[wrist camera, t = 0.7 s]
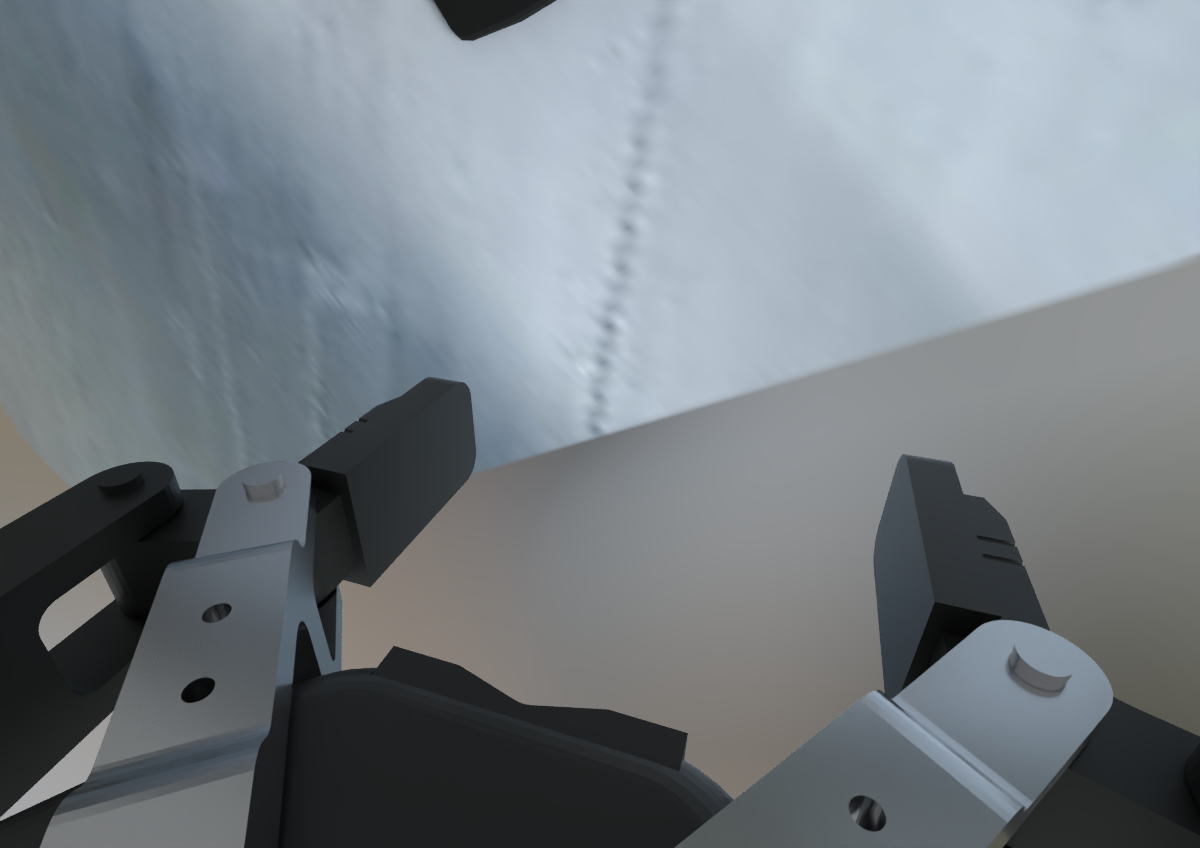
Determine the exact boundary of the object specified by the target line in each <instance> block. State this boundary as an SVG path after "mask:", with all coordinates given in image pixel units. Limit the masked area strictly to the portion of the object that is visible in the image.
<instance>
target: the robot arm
mask: <svg viewBox="0 0 1200 848" xmlns="http://www.w3.org/2000/svg"><path fill="white" fill-rule="evenodd" d="M475 458H476V446H475V435H474V425H473V414H472V403H471V394H470V390H469V388H468V386H467V385H466V384H465V383H463V382H457V381H451V380H445V379H439V378H433V377H428V378H426V379H424V380H423V381H421V382H420V383H418V384H417V385H416V386H414V387H413V388H412V389H410V390H409V391H408V392H406V393H405V394H404V395H402V396H401V397H398V398H396V399H393V400H390V401H388V402H385V403H383V404H380V405H378V406H376V407H375V408H373V409H372V410H370V411H369V412H368V413H366V414H365V415H363V416H362V417H361V418H359V422H358V421H355V422H354V423H352V424H351V425H350V426H348V427H347V428H345V431H344V432H340V433H338V434H337V435H336V436H334V437H333V438H331V439H330V440H329V441H327V442H326V443H325V444H323V445H322V446H320V447H319V448H318V449H316V450H315V451H313V452H312V453H311V454H309V455H308V456H306V457H305V458H304V459H302V460H301V461H300V462H298V463H296V462H291V461H274V462H266V463H261V464H257V465H254V466H251V467H248V468H245V469H243V470H240V471H238V472H236V473H235V474H233V475H231V476H230V477H228V478H227V479H225V480H224V481H223V482H222V483H221V484H220V485H219V487H218V488H217V489H207V490H180V488H179V485H178V482H177V480H176V477H175V474H174V472H173V470H172V468H171V467H170V466H168V465H166V464H164V463H160V462H136V463H129V464H125V465H120V466H117V467H113V468H110V469H108V470H105V471H102V472H100V473H98V474H95V475H93V476H91V477H89V478H88V479H86V480H84V481H82V482H81V483H79V484H77V485H75V486H74V487H72V488H70V489H68V490H67V491H65V492H63V493H62V494H60V495H58V496H56V497H55V498H53V499H51V500H49V501H48V502H46V503H44V504H43V505H41V506H39V507H37V508H35V509H34V510H32V511H30V512H28V513H27V514H25V515H23V516H22V517H20V518H18V519H16V520H15V521H13V522H11V523H9V524H8V525H6V526H4V527H2V528H1V529H0V817H1V816H2V815H3V814H4V813H5V812H6V811H7V810H8V809H10V808H11V807H12V806H13V805H14V804H15V803H16V802H17V801H18V800H19V799H20V798H21V797H22V796H23V795H24V794H25V793H26V792H28V790H30V789H31V788H32V787H33V786H34V785H35V784H36V783H37V782H38V781H39V780H40V779H41V778H42V777H43V776H45V774H46V773H48V772H49V771H50V770H51V769H52V768H53V767H54V766H55V765H56V764H57V763H58V762H59V761H60V760H61V759H63V758H64V757H65V756H66V755H67V754H68V753H69V752H70V751H71V750H72V749H73V748H74V747H75V746H76V745H77V744H78V743H79V742H81V741H82V740H83V739H84V737H86V736H87V735H88V734H89V733H90V732H91V731H92V730H93V729H94V728H95V727H96V726H98V725H99V723H101V722H102V721H103V720H104V719H105V718H106V717H107V716H108V715H109V714H110V713H111V712H112V711H113V710H114V711H113V714H112V716H111V719H110V722H109V725H108V727H107V730H106V733H105V736H104V738H103V741H102V744H101V747H100V749H99V752H98V755H97V757H96V760H95V763H94V766H93V768H92V771H91V773H90V775H89V777H88V779H87V780H86V781H85V782H84V783H81V784H80V785H77V786H75V787H73V788H71V789H69V790H66V791H64V792H62V793H60V794H58V795H56V796H54V797H51V798H49V799H47V800H45V801H43V802H40V803H38V804H36V805H34V806H32V807H30V808H28V809H26V810H23V811H21V812H19V813H17V814H15V815H13V816H10V817H8V818H6V819H4V820H2V821H0V848H1200V737H1199V736H1197V735H1195V734H1193V733H1191V732H1188V731H1186V730H1184V729H1182V728H1179V727H1177V726H1175V725H1173V724H1170V723H1168V722H1166V721H1164V720H1161V719H1159V718H1157V717H1154V716H1152V715H1150V714H1148V713H1145V712H1143V711H1141V710H1139V709H1137V708H1134V707H1132V706H1130V705H1128V704H1126V703H1124V702H1122V701H1120V700H1118V699H1116V698H1115V697H1113V693H1112V688H1111V686H1110V683H1109V681H1108V679H1107V677H1106V676H1105V674H1104V672H1103V671H1102V670H1101V669H1100V667H1099V666H1098V665H1097V664H1096V663H1095V662H1094V661H1093V660H1092V659H1091V658H1090V657H1089V656H1088V655H1087V654H1086V653H1084V652H1083V651H1082V650H1081V649H1079V648H1078V647H1077V646H1075V645H1074V644H1072V643H1071V642H1069V641H1068V640H1066V639H1064V638H1062V637H1060V636H1059V635H1057V634H1055V633H1053V632H1051V631H1050V629H1049V627H1048V624H1047V622H1046V619H1045V617H1044V614H1043V612H1042V609H1041V607H1040V604H1039V602H1038V599H1037V597H1036V594H1035V591H1034V589H1033V586H1032V584H1031V581H1030V579H1029V576H1028V574H1027V571H1026V569H1025V567H1024V566H1022V562H1023V561H1022V559H1021V556H1020V554H1019V551H1018V549H1017V547H1015V546H1014V545H1015V541H1014V538H1013V536H1012V533H1011V531H1010V528H1009V526H1008V523H1007V521H1006V519H1005V518H1004V517H1003V516H1002V515H1001V514H1000V513H999V512H997V510H996V509H995V508H994V507H992V505H990V504H989V503H988V502H987V501H986V500H985V499H984V498H981V497H975V496H970V495H964V494H963V492H962V489H961V486H960V482H959V479H958V476H957V473H956V470H955V467H954V464H953V463H952V462H948V461H942V460H935V459H930V458H923V457H918V456H911V455H905V454H903V455H902V456H901V457H900V459H899V461H898V464H897V467H896V470H895V473H894V476H893V480H892V483H891V487H890V490H889V493H888V497H887V500H886V503H885V507H884V510H883V514H882V517H881V520H880V524H879V527H878V531H877V536H876V541H875V549H874V574H875V585H876V597H877V609H878V620H879V631H880V643H881V655H882V665H883V677H884V689H885V693H883V692H882V691H880V690H875V691H873V692H870V693H868V694H867V695H865V696H864V697H862V698H861V699H860V700H858V701H857V702H856V703H855V704H853V705H852V706H851V707H850V708H848V709H847V710H846V711H845V712H843V713H842V714H841V715H840V716H839V717H837V718H836V719H835V720H833V721H832V722H831V723H830V724H828V725H827V726H826V727H825V728H823V729H822V730H821V731H820V732H818V733H817V734H816V735H815V736H813V737H812V738H811V739H810V740H808V741H807V742H806V743H805V744H803V745H802V746H801V747H800V748H798V749H797V750H796V751H795V752H793V753H792V754H791V755H790V756H788V757H787V758H786V759H785V760H783V761H782V762H781V763H780V764H778V765H777V766H776V767H775V768H773V769H772V770H771V771H770V772H768V773H767V774H766V775H765V776H764V777H762V778H761V779H760V780H758V781H757V782H756V783H755V784H753V785H752V786H751V787H750V788H748V789H747V790H746V791H745V792H743V793H742V794H741V795H740V796H738V797H737V798H736V799H735V800H734V799H732V798H731V797H730V796H729V795H728V794H727V793H726V792H725V791H724V790H723V789H722V788H721V787H720V786H719V785H718V784H717V783H716V782H714V781H713V780H712V779H710V778H709V777H708V776H706V775H705V774H704V773H703V772H701V771H700V770H699V769H697V768H695V767H694V766H692V765H691V764H689V763H687V762H686V761H684V757H685V750H686V742H687V735H688V733H685V732H682V731H678V730H675V729H671V728H668V727H665V726H661V725H658V724H655V723H651V722H648V721H645V720H641V719H638V718H635V717H631V716H628V715H624V714H621V713H617V712H614V711H611V710H605V709H587V708H570V707H553V706H534V705H526V704H522V703H519V702H517V701H515V700H514V699H512V698H511V697H509V696H507V695H506V694H504V693H503V692H501V691H499V690H498V689H496V688H494V687H493V686H491V685H490V684H488V683H487V682H485V681H483V680H482V679H480V678H479V677H477V676H475V675H474V674H472V673H471V672H469V671H467V670H465V669H464V668H463V667H461V666H459V665H456V664H453V663H450V662H446V661H443V660H439V659H436V658H433V657H429V656H426V655H423V654H419V653H416V652H413V651H409V650H406V649H402V648H399V647H396V646H393V648H392V649H391V650H390V652H389V653H388V654H387V656H386V657H385V658H384V659H383V661H382V662H381V663H380V665H379V666H378V667H377V668H363V669H350V670H344V671H342V668H341V667H342V666H341V665H342V664H341V663H342V597H341V593H340V588H339V583H341V581H342V580H346V581H350V582H353V583H357V584H361V585H364V586H368V587H371V586H372V585H373V584H374V583H375V581H376V580H377V579H378V578H379V577H380V576H381V575H382V574H383V573H384V571H385V570H386V569H387V568H388V567H389V566H390V565H391V564H392V563H393V562H394V561H395V559H396V558H397V557H398V556H399V555H400V554H401V553H402V552H403V550H404V549H405V548H406V547H407V546H408V545H409V544H410V543H411V542H412V541H413V540H414V538H415V537H416V536H417V535H418V534H419V533H420V532H421V531H422V529H424V527H425V526H426V525H427V524H428V523H429V522H430V521H431V520H432V518H433V517H434V516H435V515H436V514H437V513H438V512H439V511H440V510H441V509H442V508H443V506H444V505H445V504H446V503H447V502H448V501H449V500H450V499H451V498H452V496H453V495H454V494H455V493H456V492H457V491H458V490H459V489H460V488H461V487H462V486H463V484H464V483H465V482H466V481H467V480H468V478H469V477H470V475H471V473H472V470H473V467H474V464H475ZM100 568H101V570H102V572H103V575H104V577H105V579H106V581H107V583H108V585H109V587H110V589H111V591H112V593H113V595H114V597H115V600H114V601H113V602H112V603H110V604H109V605H107V606H106V607H105V608H104V609H102V610H101V611H100V612H98V613H97V614H96V615H95V616H93V617H92V618H91V619H89V620H88V621H87V622H86V623H85V624H83V625H82V626H81V627H79V628H78V629H77V630H75V631H74V632H73V633H72V634H70V635H69V636H68V637H67V638H65V639H64V640H63V641H61V642H60V643H59V644H57V645H56V646H55V647H54V648H52V649H51V650H50V651H47V649H46V647H45V645H44V644H43V642H42V640H41V639H40V636H39V632H38V629H39V628H38V627H39V623H40V620H41V617H42V615H43V614H44V612H45V611H46V609H47V608H48V607H49V606H50V605H51V604H52V603H53V602H54V601H55V600H56V599H58V598H59V597H60V596H62V595H63V594H65V593H66V592H68V591H69V590H70V589H72V588H73V587H75V586H76V585H77V584H79V583H80V582H81V581H83V580H84V579H85V578H87V577H89V576H90V575H91V574H93V573H94V572H95V571H97V570H98V569H100Z"/></svg>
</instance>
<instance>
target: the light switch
mask: <svg viewBox="0 0 1200 848" xmlns="http://www.w3.org/2000/svg"><path fill="white" fill-rule="evenodd" d="M554 1H556V0H434V2H435V3H436V5H437V6H438V8H439V10H440V11H441V13H442V15H443V16H444V18H445V19H446V21H447V23H448V24H449V26H450V28H451V29H452V31H453V32H454V33H455V34H456V35H457V36H458V37H459V38H460V39H461V40H471V41H473V40H476V39H478V38H481V37H483V36H486V35H488V34H491V33H493V32H496V31H498V30H501V29H503V28H506V27H509V26H511V25H514V24H516V23H519V22H521V21H523V20H525V19H526V18H528V17H530V16H531V15H533V14H534V13H536V12H538V11H539V10H541V9H543V8H544V7H546V6H548V5H549V4H551V3H553V2H554Z"/></svg>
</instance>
